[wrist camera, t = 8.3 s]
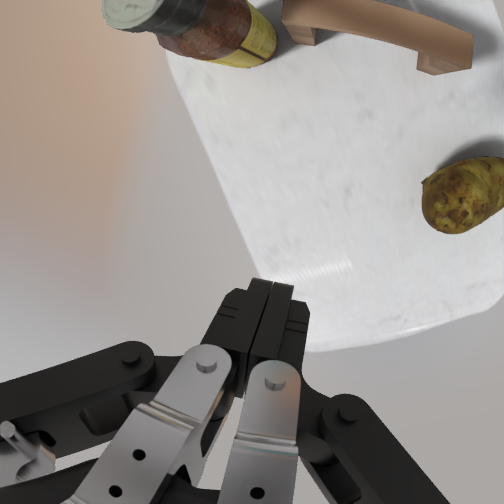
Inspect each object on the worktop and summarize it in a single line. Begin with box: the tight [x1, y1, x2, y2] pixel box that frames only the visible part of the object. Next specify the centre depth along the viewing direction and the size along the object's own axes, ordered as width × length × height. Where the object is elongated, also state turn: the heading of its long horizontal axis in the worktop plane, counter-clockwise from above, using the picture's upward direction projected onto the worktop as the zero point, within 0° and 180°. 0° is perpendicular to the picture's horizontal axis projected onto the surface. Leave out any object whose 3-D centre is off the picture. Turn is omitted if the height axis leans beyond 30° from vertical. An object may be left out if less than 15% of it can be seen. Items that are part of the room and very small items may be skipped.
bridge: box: [281, 0, 473, 75], centre depth 19 cm, size 3×14×9 cm, turn 84°
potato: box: [421, 156, 504, 234], centre depth 23 cm, size 8×13×8 cm, turn 92°
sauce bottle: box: [102, 0, 278, 68], centre depth 17 cm, size 7×6×20 cm
